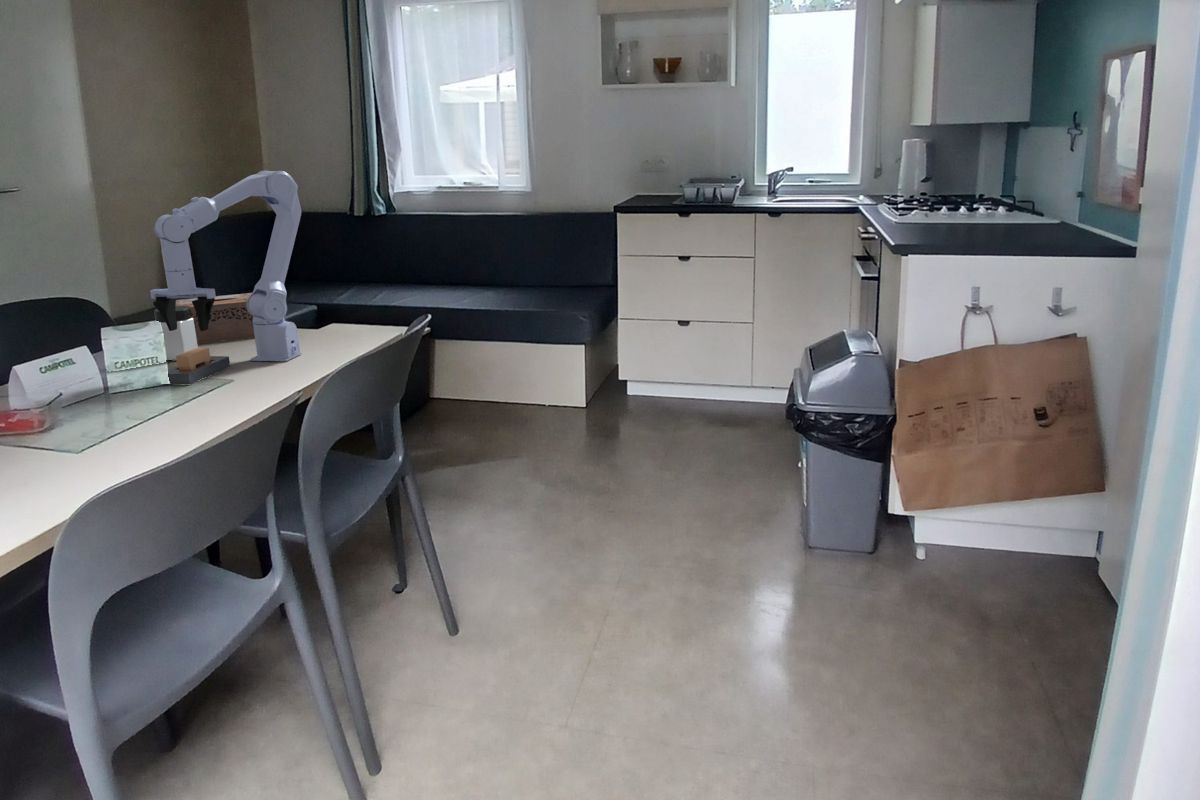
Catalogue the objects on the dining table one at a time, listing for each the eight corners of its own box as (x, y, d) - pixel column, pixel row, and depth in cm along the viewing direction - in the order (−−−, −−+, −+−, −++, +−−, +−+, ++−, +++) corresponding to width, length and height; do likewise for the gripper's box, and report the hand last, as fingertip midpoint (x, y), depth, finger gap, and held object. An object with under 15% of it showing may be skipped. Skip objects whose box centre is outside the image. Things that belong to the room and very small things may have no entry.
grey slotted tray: (203, 366, 214) (201, 356, 213) (230, 366, 213) (228, 356, 212) (160, 384, 199) (158, 373, 198) (189, 385, 198) (188, 373, 197)
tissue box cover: (269, 326, 260) (264, 291, 257) (275, 335, 247) (271, 299, 244) (170, 337, 249) (164, 301, 246) (171, 347, 236) (165, 309, 234)
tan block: (200, 371, 210) (196, 347, 208) (212, 371, 209) (208, 347, 208) (179, 380, 202) (175, 356, 201) (192, 380, 202) (188, 356, 200)
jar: (202, 356, 224) (195, 308, 220) (167, 362, 219) (159, 313, 215) (191, 351, 230) (184, 304, 227) (157, 356, 226) (149, 308, 222)
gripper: (137, 272, 200) (148, 333, 203) (199, 272, 197) (208, 333, 201) (157, 268, 206) (167, 327, 210) (216, 267, 204) (225, 327, 208)
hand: (188, 330), depth 206 cm, fingers open, 7 cm apart
